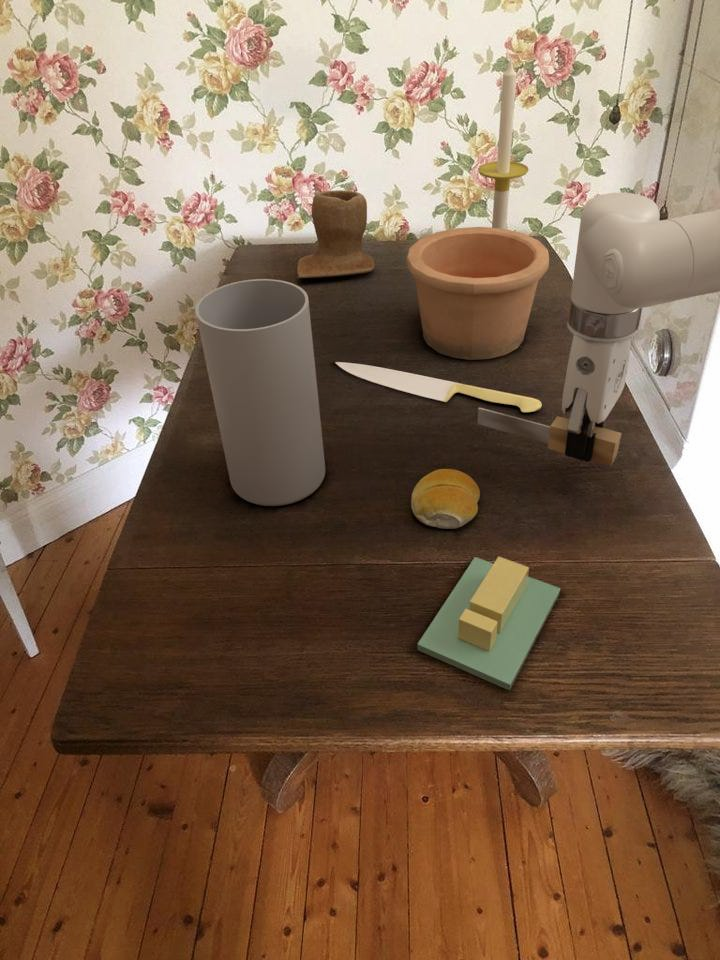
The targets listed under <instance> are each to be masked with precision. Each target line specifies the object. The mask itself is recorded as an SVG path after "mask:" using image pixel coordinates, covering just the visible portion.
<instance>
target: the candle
mask: <svg viewBox="0 0 720 960" xmlns="http://www.w3.org/2000/svg"><path fill="white" fill-rule="evenodd" d="M517 76H518V75H517V72H516V71H515V69H514V65H513V60H512V55H511V56H510V59H509V61H508V64H507V68H506V70H505V71H504V72H503V73H502V81H501V82H502V83H501V84H502V85H501V99H500V114H499V129H498V146H497V159H496V161H489V162H485V163H484V164H481V165H480V166H479V167H478V168H477V171H478V173H479V175H481V176H483V177H484V178H487V179H488V178H489V179H492V180H494V191H493V192H494V193H493V204H492V205H493V209H492V223H491V228H501V229H506V230H507V225H508V224H507V222H508V221H507V220H508V210H509V197H510V184H511V183H510V182H511V180H514V179H518V178H521V177H523V176H526V175H527V173H529V170H530V169H529V167H528V165H526V164H524V163H523V162H517V161H511V154H512V141H513V129H514V128H513V127H514V114H515V101H516V99H515V98H516V88H517V87H516V86H517Z"/></svg>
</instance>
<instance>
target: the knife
mask: <svg viewBox="0 0 720 960" xmlns="http://www.w3.org/2000/svg"><path fill="white" fill-rule="evenodd" d="M334 363H335V364H336V365H337V366H338V368H340V369H342V370H343V371H345V372H346V373H348V374H351V375H353V376H355V377H357V378H359V379H363V380H366V381H369V382H371V383H374V384H377V385H381V386H384V387H387V388H391V389H394V390H398V391H401V392H405V393H407V394H408V393H409V394H412V395H415V396H419V397H422V398H427V399H432V400H435V401H440V402H444V403H447V402H449V400H450V399H451V398H452V397H453V396H454V395H455V394H457V393H458V394H459V393H460V394H464V395H467V396H471V397H474V398H477V399H480V400H483V401H486V402H490V403H496V404H497V403H498V404H504V405H512V406H516V407H518V408H519V409H520V412H522V413H531V412H537V411H539V410H540V409H541V408H542V406H543V404H542V401H541V400H540V399H537V398H534V397H531V396H526V395H525V396H524V395H519V394H515V393H509V392H505V391H500V390H494V389H489V388H484V387H480V386H475V385H469V384H466V383H460V382H456V381H451V380H445V379H440V378H436V377H431V376H426V375H421V374H416V373H411V372H407V371H401V370H396V369H391V368H385V367H380V366H375V365H369V364H363V363H354V362H353V363H352V362H344V361H335V362H334Z"/></svg>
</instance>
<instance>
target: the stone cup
mask: <svg viewBox="0 0 720 960" xmlns="http://www.w3.org/2000/svg"><path fill="white" fill-rule="evenodd" d="M311 218H312V223H313V228H314V232H315V235H316V239H317V246H318V247H317V250H316V251H315V252H314V253H312V254H307V255H304V256H303V257H301V258H300V259H299V260H298V262H297V267H296V274H297V278H298V279H321V278H334V277H335V278H337V277H346V276H354V275H361V274H367V273H370V272H372V271H373V270H374V269H375V261H374V259H373V258H372V257H371V256H370V255H369V254H367V253H365V252H363V251H362V248H363V247H362V246H363V239H364V238H363V237H364V235H365V232H366V227H367V222H368V203H367V199H366V197H365V195H364V194H362V193H360V192H357V191H352V190H341V189H337V190H326V191H320V192H317V193H315V194H314V196H313V200H312V203H311Z"/></svg>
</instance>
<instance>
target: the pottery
mask: <svg viewBox="0 0 720 960" xmlns="http://www.w3.org/2000/svg"><path fill="white" fill-rule="evenodd" d="M549 265H550V255H549V249H547V247H546V246H545V245H544V244H543V243H542V242H541V241H540V240H538V239H537V238H534V237H532V236H530V235H527V234H525V233H523V232H519V231H514V230H511V229H507V228H506V229H501V228H492V227H487V226H471V227H456V228H452V229H446V230H441V231H436V232H434V233H431V234H429V235H427V236H424V237H422V238H420V239H418V240H417V241H416V242H415V243H413V244H412V245H411V246H410V247H409V250H408V253H407V256H406V267H407V269H408V271H409V272H410V274H411V276H412V277H413V278H414V280H415V286H416V293H417V294H416V295H417V301H418V308H419V314H420V320H421V329H422V338H423V339H424V342H425V343H426V344H427V346H428V347H430V348H432V349H433V350H434V351H436V352H437V353H438V354H441V355H443V356H447V357H449V358H453V359H459V360H466V361H483V360H491V359H496V358H500V357H504V356H507V355H508V354H510V353H512V352H513V351H515V350H517V349H518V348H519V347H520V346H521V344H522V343H523V342H524V340H525V335H526V330H527V327H528V323H529V319H530V316H531V310H532V307H533V303H534V299H535V295H536V292H537V287H538V284H539V281H540V280H541V279H542V278H543V276H544V275H545V274H546V272H547V271H548V270H549V267H550V266H549Z"/></svg>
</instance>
